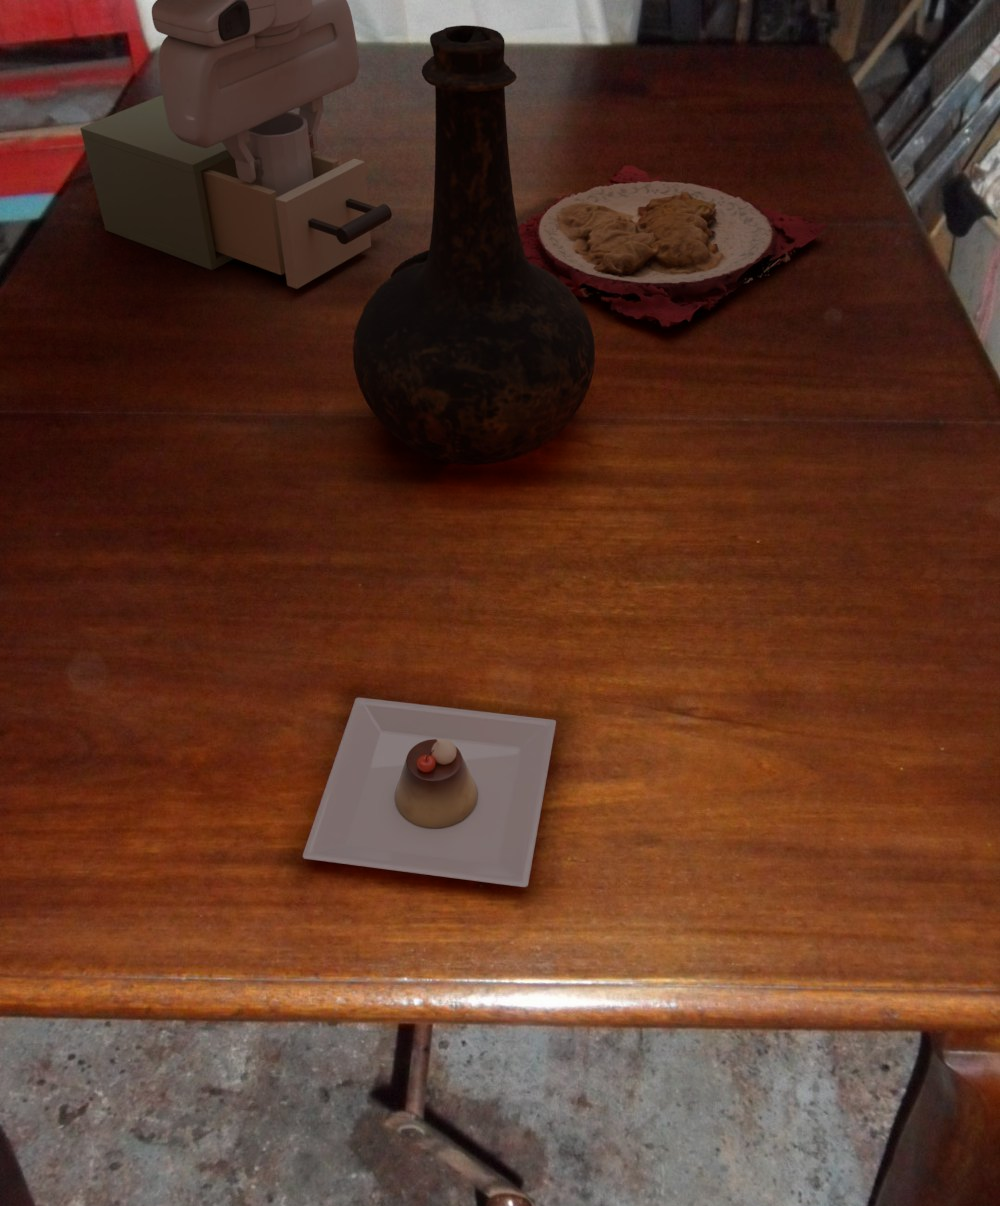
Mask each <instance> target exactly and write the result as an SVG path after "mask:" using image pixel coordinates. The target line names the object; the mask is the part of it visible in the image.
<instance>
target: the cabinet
mask: <svg viewBox="0 0 1000 1206" xmlns="http://www.w3.org/2000/svg"><path fill="white" fill-rule="evenodd" d="M80 133H81V137H82V142H83V145H84V150H85V153H86V154H85V155H86V158H87V162H88V165H89V169H90V175H91V178H92V181H93V185H94V186H93V187H94V190H95V195H96V198H97V203H98V206H99V207H98V208H99V211H100V214H101V215H100V216H101V218H102V223H103V226H104V230H105V231H106V232H109V233H111V234H114V235H117V236H119V237H122V238H124V239H127V240H130V241H132V242H136V243H138V244H141V245H143V246H146V247H149V248H151V249H153V250H157V251H160V252H162V253H165V254H167V255H170V256H172V257H175V258H177V259H180V260H183V261H185V262H188V263H191V264H194V265H197V266H199V267H202V268H204V269H207V270H209V271H214V270H216V269H218V268H220V267H222V266H224V265H226V264H227V263H229V262H231V261H232V260H236V259H235V258H233V257H230V256H227V255H224V254H222V253H219V252H216V251H215V248H214V242H213V237H212V231H211V226H210V220H209V215H208V209H207V203H206V198H205V192H204V187H203V181H202V176H201V171H202V170H204V169H206V168H208V167H210V166H213V165H215V164H217V163H219V162H221V161H223V160H226V159H228V158H230V157H232V156H231V154H230V153H229V152H228V150H227V149H226V147H225V146H224V145H223V143H222V142H220V143H217V144H215V145H213V146H211V147H208V148H202V147H199V146H195V145H192V144H189V143H186V142H183V141H181V140H180V139H179V138H178V137H177V136H176V135H175V134H174V133H173V132H172V131H171V129H170V127H169V124H168V120H167V116H166V111H165V106H164V100H163V94H161V95H158V96H156V97H154V98H151V99H149V100H146V101H144V102H141V103H139V104H135V105H133V106H131V107H128V108H126V109H124V110H121V111H118V112H116V113H114V114H111V115H109V116H106V117H104V118H101V119H99V120H96V121H94V122H92V123H88V124H86V125H84V126H82V127H80Z"/></svg>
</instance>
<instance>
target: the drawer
mask: <svg viewBox="0 0 1000 1206" xmlns="http://www.w3.org/2000/svg"><path fill="white" fill-rule="evenodd" d="M311 161H312V170H313V180H311V181H309V182H307V183H305V184H303V185H301V186H299V187H297V188H295V189H293V190H291V191H289V192H287V193H285V194H283V195H281V196H279V197H276V191H274V190H271V189H268V188H265V187H262V186H259V185H256V184H253V183H248V182H245V181H242V180H240V179H239V177H238V175H237V169H236V163H235V159H234V158H233V157H230V158H228V159H226V160H223V161H221V162H219V163H217V164H215V165H213V166H210V167H208V168H206V169H204V170H202V171H201V176H202V181H203V187H204V192H205V198H206V203H207V209H208V215H209V220H210V226H211V231H212V237H213V242H214V248H215V251H216V252H219V253H222V254H224V255H227V256H230V257H233V258H235V259H234V260H238V261H240V262H244V263H246V264H249V265H251V266H254V267H257V268H260V269H262V270H266V271H268V272H271V273H274V274H276V275H279V276H282V275H284V274H285V279H286V286H287V287H290V288H293V289H294V290H295V289H296V290H298V289H300V288H301V287H303V286H305V285H306V284H308V283H310V282H312V281H313V280H315V279H317V278H318V277H320V276H322V275H324V274H326V273H327V272H329V271H331V270H332V269H334V268H336V267H338V266H340V265H342V264H343V263H345V262H346V261H348V260H350V259H352V258H354V257H355V256H357V255H359V254H360V253H362V252H364V251H366V250H367V249H369V248H371V247H372V239H371V231H372V230H374V229H375V228H377V227H379V226H381V225H382V224H384V223H386V222H388V221H389V220H391V219H392V216H393V213H392V209H391V207H390V206H389V205H388V204H385V203H381V204H379V205H378V206H374V205H371V204H370V203H369V199H368V189H367V176H366V165H365V164H366V163H365V161H364V160H362V159H361V160H360V159H357V158H352V159H350V160H349V161H347V162H345V163H343V164H341V165H340V164H339V159H336V158H333V157H329V156H327V155H323V154H320V153H316V152H313V153H311Z"/></svg>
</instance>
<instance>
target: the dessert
mask: <svg viewBox="0 0 1000 1206" xmlns="http://www.w3.org/2000/svg"><path fill="white" fill-rule="evenodd" d="M556 726H557V721H556V720H555V719H552V718H551V719H550V718H542V717H534V716H533V717H532V716H524V715H517V714H516V715H515V714H507V713H498V712H490V711H481V710H472V709H464V708H463V709H462V708H456V707H455V708H454V707H445V706H439V705H430V704H429V705H428V704H419V703H411V702H404V701H403V702H402V701H394V700H384V699H378V698H377V699H375V698H368V697H356V698H355V699H354V703H353V706H352V708H351V711H350V714H349V717H348V719H347V723H346V726H345V729H344V732H343V734H342V738H341V741H340V744H339V746H338V750H337V753H336V756H335V758H334V762H333V764H332V768H331V770H330V773H329V775H328V779H327V782H326V785H325V788H324V790H323V793H322V796H321V799H320V804H319V805H318V808H317V811H316V814H315V818H314V821H313V823H312V826H311V830H310V831H309V835H308V838H307V841H306V844H305V847H304V850H303V853H302V858H303V859H304V860H310V861H311V860H312V861H319V862H328V863H334V864H335V863H336V864H344V865H351V866H359V867H364V868H365V867H366V868H373V869H374V868H375V869H382V870H389V871H397V872H404V873H411V874H420V875H426V876H427V875H429V876H435V877H444V878H449V879H450V878H451V879H457V880H458V879H459V880H466V881H474V882H480V883H481V882H482V883H490V884H496V885H504V886H512V887H520V888H527V887H528V886H529V882H530V876H531V870H532V864H533V858H534V853H535V846H536V842H537V835H538V830H539V823H540V820H541V819H540V818H541V812H542V807H543V800H544V795H545V789H546V784H547V777H548V772H549V767H550V760H551V754H552V749H553V743H554V738H555V733H556Z"/></svg>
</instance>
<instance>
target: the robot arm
mask: <svg viewBox="0 0 1000 1206" xmlns="http://www.w3.org/2000/svg"><path fill="white" fill-rule="evenodd" d="M151 18H152V19H151V20H152V23H153V27H154V29H155V30H156V32H158V33H159V34H162V35H165V36H166V37H164V39H163V41H162V43H161V45H160V48H159V53H158V71H159V79H160V86H161V95H163V100H164V106H165V111H166V116H167V120H168V124H169V127H170V129H171V131H172V132H173V133H174V134H175V135H176V136H177V137H178V138H179V139H180V140H181V141H183V142H186V143H189V144H192V145H195V146H199V147H202V148H208V147H211V146H213V145H215V144H217V143H220V142H222V143H223V145H224V146H225V147H226V149H227V150H228V152H229V153H230V154H231V156H232V157H233V158H234V159H235V163H236V169H237V175H238V177H239V179H240V180H242V181H245V182H248V183H251V182H254V181H256V180H257V179H259V178H261V177H263V175H264V174H263V170H262V159H261V157H257V156H252V154H251V153H250V151H249V149H248V148H247V146H246V144H245V143H248V142H249V141H250V136H249V129H251V128H253V127H255V126H258V125H260V124H262V123H264V122H267V121H269V120H271V119H273V118H276V117H278V116H280V115H282V114H285V113H287V112H292V111H293V110H295V109H299V110H298V114H299V115H301V116H303V117H304V118H306V119H307V125H308V134H309V143H310V152H311V153H313V152H314V153H316V152H318V150H319V149H318V148H319V145H318V137H317V136H318V135H317V132H318V129H319V126H320V122H321V119H322V116H323V112H324V99H323V97H325V96H327V95H329V94H332V93H334V92H336V91H339V90H341V89H343V88H345V87H347V86H350V85H352V84H354V83H355V82H356V79H357V77H358V74H359V71H360V57H359V48H358V41H357V37H356V36H357V35H356V31H355V24H354V21H353V15H352V12H351V7H350V5H349V3H348V1H347V0H155V1H154V3H153V4H152V6H151Z"/></svg>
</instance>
